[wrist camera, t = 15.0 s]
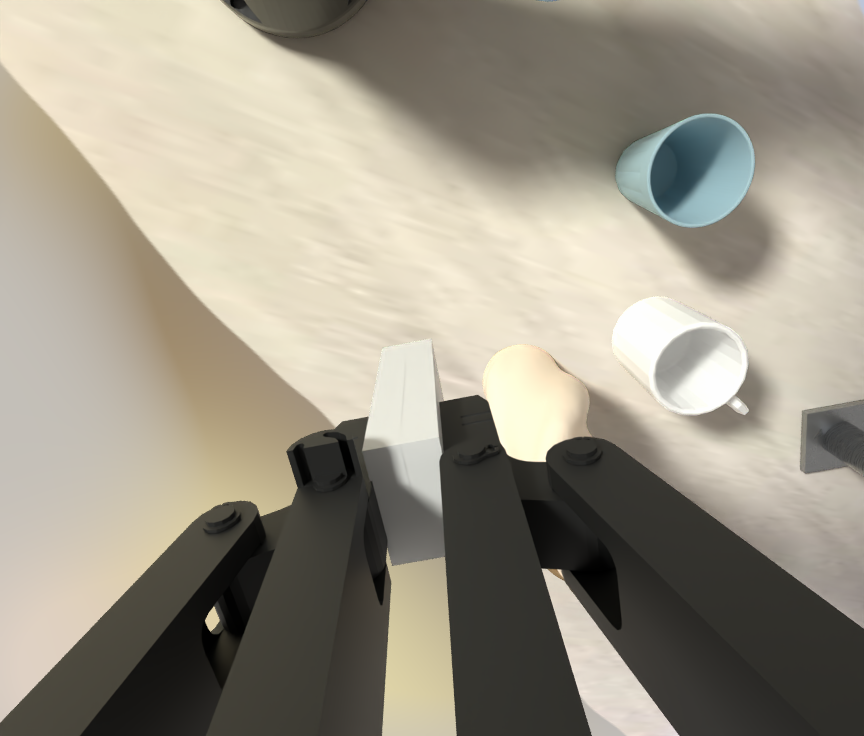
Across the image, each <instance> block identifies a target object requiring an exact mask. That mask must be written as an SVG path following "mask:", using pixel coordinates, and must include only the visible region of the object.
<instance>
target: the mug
mask: <svg viewBox="0 0 864 736" xmlns="http://www.w3.org/2000/svg"><path fill="white" fill-rule="evenodd" d="M612 347H613V353H614V355H615V357H616V359H617V361H618V362H619V364H620V365H621V366H622V367H623V368H624V369H625V370H626V371H627V372H628V373H629V374H630V375H631V376H632V377H633V378H634V379H635V380H636V381H637V382H638V383H639V384H640V385H641V386H642V387H643V388H644V389H645V390H646V391H647V392H648V393H649V394H650V395H651V396H652V397H653V398H654V399H655V400H656V401H657V402H659V403H660V404H661V405H662V406H663V407H665V408H666V409H667V410H669V411H671V412H674V413H677V414H680V415H693V416H697V415H701V414H705V413H709V412H712V411H714V410H716V409H717V408H719V407H721V406H723V405H725V404H727V405H728V406H729V407H731V408H732V409H733V410H734V411H736V412H737V413H740V414H743V415H745V414H746V413H747V412H749V409H748V408H747V406H746V405H745V404H744V403H743V402H742V401H741V400H740V399H739V398H738V397H737V396H735V394H736V393H737V392H738V390H739V389H740V387H741V385H742V384H743V382H744V380H745V378H746V374H747V370H748V366H749V362H748V350H747V348H746V346H745V344H744V342H743V340H742V338H741V337H740V336H739V335H738V334H737V333H736V332H734V331H733V330H732V329H731V328H729V327H728V326H726V325H724V324H722V323H720V322H718V321H716V320H714V319H712V318H710V317H708V316H706V315H704V314H702V313H700V312H699V311H697V310H695V309H693V308H691V307H689V306H687V305H685V304H683V303H681V302H679V301H677V300H674V299H671V298H669V297H656V296H654V297H651V298H647V299H643V300H640V301H639V302H637V303H635V304H634V305H632V306H630V307H629V308H628V309H627V310H626V311H625V312H624V313H623V314H622V315H621V316H620V318H619V320H618V322H617V324H616V326H615V328H614V331H613V337H612Z"/></svg>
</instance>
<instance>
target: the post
mask: <svg viewBox="0 0 864 736" xmlns="http://www.w3.org/2000/svg"><path fill="white" fill-rule="evenodd" d="M844 466H849V467H851V468H852V469H853V470H855V471H856V472H858V473H859V474H861V475H862V476H864V400H860V401H854V402H849V403H843V404H838V405H832V406H826V407H821V408H815V409H810V410H804V411H802V430H801V459H800V470H801V471H803V472H804V473H810V472H816V471H822V470H827V469H833V468H839V467H844Z"/></svg>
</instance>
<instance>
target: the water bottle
mask: <svg viewBox="0 0 864 736" xmlns="http://www.w3.org/2000/svg"><path fill="white" fill-rule="evenodd" d="M483 390H484V393H485V396H486V398H487V401H488V402H489V406H490V409H491V413H492V416H493V420H494V423H495V426H496V429H497V433H498V436H499V440H500V443H501V444H502V446H503V447H504V448H505V450H506V453H507V454H508V455H509V456H511V457H513V458H515V459H518V460H523V461H532V462H546V454H547V451H548V450H549V449H550V448H551V447H552V446H554V445H555V444H557V443H559V442H562V441H564V440H568V439H573V438H575V437H584V436H585V437H592V436H591V434H590V433H589V431H588V428H587V423H586V421H587V415H588V411H589V405H590V399H589V394H588V391H587V389H586V387H585V386H584V384H583V383H582V382H581V381H580V380H579V379H577V378H576V377H574V376H572V375H570V374H568V373H566V372H564V371H562V370H561V369H559V367H558V366H557V365H556V363H555V361H554V359H553V358H552V357H551V356H550V355H549V354H548V353H547V352H546V351H544V350H543V349H541V348H539V347H536V346H533V345H526V344H522V345H514V346H510V347H507V348H504V349H502V350H501V351H499V352H498V353H497V354H495V355H494V356H493V358H492V359H491V360H490V362H489V363H488V365H487V367H486V369H485V372H484V375H483ZM548 570H549V571H550V572H551V573H553V574H554V575H555V576H557V577H558V578H560V579H562V580H564V578H563V576H562V573H561V570H558V569H548ZM564 581H565V580H564ZM570 590H571V589H570ZM571 591H572V590H571ZM574 595H575V594H574Z"/></svg>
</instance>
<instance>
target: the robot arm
mask: <svg viewBox="0 0 864 736" xmlns="http://www.w3.org/2000/svg"><path fill="white" fill-rule="evenodd" d="M221 1H222V2H223V3H224V4H225V5H226V6H227V7H228V8H229V9H230V10H232V11H233V12H234V13H235V14H236V15H238V16H239V17H240V18H241V19H243V20H244V21H246V22H247V23H249V24H250V25H252V26H254V27H256V28H258V29H260V30H262V31H265V32H267V33H270V34H273V35H277V36H282V37H289V38H305V37H312V36H317V35H321V34H324V33H326V32H329V31H331V30H333V29H335V28H337V27H339V26H341V25H342V24H343V23H345V22H346V21H348V20H349V19H350V18H351V17H352V16H353V15H355V14H356V13H357V12H358V11H359V9H360V8H361V7H362V6H363V5H364V3H365V2H366V1H367V0H221ZM538 1H545V2H551V1H557V0H538ZM287 455H288V458H289V461H290V465H291V467H292V471H293V474H294V477H295V480H296V484H297V487H298V489H297V492H296V494H295V497H294V499H293V502H292V505H290V506H288V507H285V508H283V509H281V510H278V511H275V512H272V513H270V514H267V515H264V516H261V517H260V514H259V511H258V509H257V506H256V505H255V504H253V503H251V502H248V501H236V502H227V503H223V504H222V505H218V506H215V507H213V508H212V509H211V510H209V511H207V512H206V513H204V514H202V515H201V516H200V517H199V518H197V519H196V520H195V521H194V522H192V524H191V525H190V526H189V527H188V528H187V529H186V530H185V531H184V532H183V533H182V534H181V535H180V536H179V537H178V538H177V539H176V540H175V541H174V542H173V543H172V544H171V546H169V547H168V549H167V550H166V551H165V552H164V553H163V554H162V555H161V556H160V557H159V558H158V559H157V560H156V561H155V562H154V563H153V564H152V565H151V566H150V567H149V568H148V569H147V570H146V571H145V573H144V574H143V575H142V576H141V577H140V578H139V579H138V580H137V581H136V582H135V583H134V584H133V585H132V586H131V587H130V588H129V589H128V590H127V591H126V592H125V593H124V594H123V596H122V597H121V598H120V599H119V600H118V601H117V602H116V603H115V604H114V605H113V606H112V607H111V608H110V609H109V610H108V611H107V612H106V613H105V614H104V615H103V616H102V617H101V618H100V619H99V620H98V622H97V623H96V624H95V625H94V626H93V627H92V628H91V629H90V630H89V631H88V632H87V633H86V634H85V635H84V636H83V637H82V638H81V639H80V640H79V641H78V642H77V644H75V645H74V647H73V648H72V649H71V650H70V651H69V652H68V653H67V654H66V655H65V656H64V657H63V658H62V659H61V660H60V661H59V662H58V663H57V664H56V665H55V667H54V668H52V669H51V670H50V672H49V673H48V674H47V675H46V676H45V677H44V678H43V679H42V680H41V681H40V682H39V683H38V684H37V685H36V686H35V687H34V688H33V689H32V690H31V691H30V692H29V693H28V695H27V696H26V697H25V698H24V699H23V700H22V701H21V702H20V703H19V704H18V705H17V706H16V707H15V708H14V709H13V710H12V711H11V712H10V713H9V714H8V715H7V716H6V717H5V718H4V720H3V721H2V722H1V723H0V736H382V724H383V708H384V692H385V676H386V675H385V674H386V659H387V642H388V627H389V611H390V593H391V579H390V575H389V571H388V567H387V564H386V554H387V548H388V552H389V556H390V560H391V563H392V566H394V565H400V564H405V563H411V562H417V561H423V560H428V559H434V558H439V557H445V560H446V576H447V592H448V607H449V621H450V637H451V654H452V668H453V683H454V700H455V716H456V731H457V736H592V735H591V732H590V728H589V725H588V722H587V718H586V715H585V712H584V708H583V705H582V702H581V698H580V695H579V692H578V688H577V685H576V682H575V678H574V675H573V672H572V668H571V665H570V662H569V659H568V655H567V652H566V649H565V645H564V642H563V639H562V635H561V632H560V629H559V625H558V622H557V619H556V615H555V612H554V609H553V605H552V602H551V599H550V595H549V592H548V589H547V585H546V582H545V579H544V576H543V572H542V569H541V568H543V569H558V570H561V573H562V576H563V578H564V580H565V582H566V584H567V585H568V586H569V588H570V589H571V590H572V592H573V593H574V594H575V596H576V597H577V599H578V600H579V601H580V603H581V604H582V605H583V607H584V608H585V609H586V611H587V612H588V613H589V615H590V616H591V617H592V619H593V620H594V621H595V623H596V624H597V625H598V627H599V628H600V629H601V631H602V632H603V634H604V635H605V636H606V638H607V639H608V640H609V642H610V643H611V644H612V646H613V647H614V648H615V650H616V651H617V652H618V654H619V655H620V656H621V658H622V659H623V660H624V662H625V663H626V664H627V666H628V667H629V668H630V670H631V671H632V673H633V674H634V675H635V677H636V678H637V679H638V681H639V682H640V683H641V685H642V686H643V687H644V689H645V690H646V691H647V693H648V694H649V695H650V697H651V698H652V699H653V701H654V702H655V703H656V705H657V706H658V708H659V709H660V710H661V712H662V713H663V714H664V716H665V717H666V718H667V720H668V721H669V722H670V724H671V725H672V726H673V728H674V729H675V730H676V732H677V733H678V734H679V736H864V629H863V628H862V627H860V626H859V625H858V624H856V623H855V622H854V621H852V620H851V619H850V618H848V617H847V616H846V615H844V614H843V613H842V612H840V611H839V610H838V609H836V608H835V607H833V606H832V605H831V604H829V603H828V602H827V601H825V600H824V599H823V598H821V597H820V596H819V595H817V594H816V593H815V592H813V591H812V590H811V589H809V588H808V587H806V586H805V585H804V584H802V583H801V582H800V581H798V580H797V579H796V578H794V577H793V576H792V575H790V574H789V573H788V572H786V571H785V570H784V569H782V568H781V567H779V566H778V565H777V564H775V563H774V562H773V561H771V560H770V559H769V558H767V557H766V556H765V555H763V554H762V553H761V552H759V551H758V550H756V549H755V548H754V547H752V546H751V545H750V544H748V543H747V542H746V541H744V540H743V539H742V538H740V537H739V536H738V535H736V534H735V533H734V532H732V531H731V530H729V529H728V528H727V527H725V526H724V525H723V524H721V523H720V522H719V521H717V520H716V519H715V518H713V517H712V516H711V515H709V514H708V513H707V512H705V511H704V510H702V509H701V508H700V507H698V506H697V505H696V504H694V503H693V502H692V501H690V500H689V499H688V498H686V497H685V496H684V495H682V494H681V493H679V492H678V491H677V490H675V489H674V488H673V487H671V486H670V485H669V484H667V483H666V482H665V481H663V480H662V479H661V478H659V477H658V476H657V475H655V474H654V473H652V472H651V471H650V470H648V469H647V468H646V467H644V466H643V465H642V464H640V463H639V462H638V461H636V460H635V459H634V458H632V457H631V456H630V455H628V454H627V453H625V452H624V451H623V450H621V449H620V448H619V447H617V446H616V445H615V444H613V443H611V442H609V441H607V440H604V439H599V438H594V437H585V436H584V437H575V438H573V439H568V440H564V441H562V442H559V443H557V444H555V445H554V446H552V447H551V448H550V449H549V450H548V451H547V454H546V462H532V461H523V460H518V459H515V458H513V457H511V456H509V455H508V454H507V453H506V450H505V448H504V447H503V446H502V444H501V443H500V440H499V436H498V433H497V429H496V426H495V423H494V420H493V416H492V413H491V409H490V406H489V402H488V401H487V400H485V399H483V398H482V397H480V396H479V395H475V396H469V397H464V398H459V399H453V400H448V401H444V399H443V394H442V389H441V384H440V379H439V374H438V369H437V364H436V359H435V354H434V349H433V344H432V339H431V338H430V339H425V340H420V341H415V342H409V343H404V344H399V345H394V346H388V347H383V348H382V353H381V358H380V363H379V368H378V373H377V378H376V383H375V388H374V393H373V398H372V403H371V408H370V413H369V417H364V418H359V419H354V420H348V421H343V422H341V423H340V424H339V425H338V426H337V427H336V428H335V429H333V430H324V431H320V432H317V433H313V434H310V435H308V436H306V437H304V438H301V439H300V440H298V441H297V442H295V443H294V444H292V445H291V446H290V448H289V449H288V450H287ZM213 606H214V607H215V609H216V612H217V614H218V617H219V619H220V622H219V623H218V624H217V626H216V627H215V628H214V629H213V630H212V631H211V632H210V631H209V629H208V627H207V625H206V623H205V619H206V617H207V615H208V613H209V612H210V610H211V609H212V608H213Z"/></svg>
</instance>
